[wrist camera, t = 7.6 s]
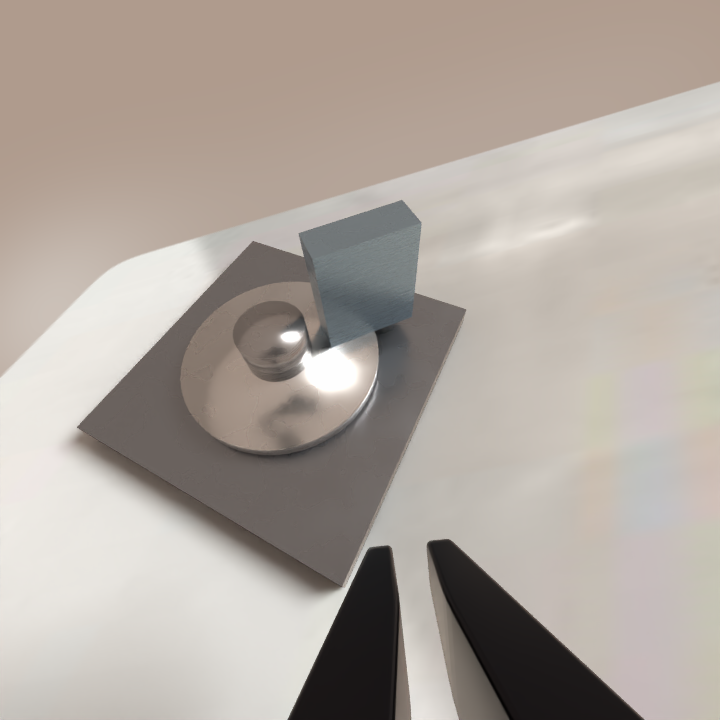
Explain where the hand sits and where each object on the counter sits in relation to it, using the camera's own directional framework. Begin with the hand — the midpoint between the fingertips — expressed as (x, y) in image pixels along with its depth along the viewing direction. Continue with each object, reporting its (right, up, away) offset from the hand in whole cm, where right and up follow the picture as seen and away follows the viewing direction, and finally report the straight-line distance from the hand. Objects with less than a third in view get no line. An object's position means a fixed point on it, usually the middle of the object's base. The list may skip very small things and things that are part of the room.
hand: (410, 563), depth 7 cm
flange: (-5, +4, +17) cm, 18 cm away
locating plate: (-6, +3, +18) cm, 19 cm away
